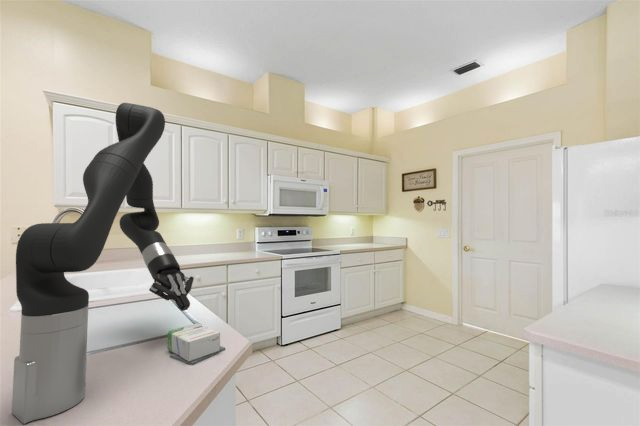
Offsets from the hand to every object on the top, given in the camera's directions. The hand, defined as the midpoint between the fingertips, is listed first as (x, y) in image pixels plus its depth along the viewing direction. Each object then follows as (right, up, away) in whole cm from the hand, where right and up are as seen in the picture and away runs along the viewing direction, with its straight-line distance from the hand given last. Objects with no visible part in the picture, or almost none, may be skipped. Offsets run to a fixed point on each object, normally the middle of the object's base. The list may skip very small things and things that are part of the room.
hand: (186, 308), depth 79 cm
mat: (+5, -10, -5) cm, 12 cm away
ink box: (-1, -7, 0) cm, 7 cm away
